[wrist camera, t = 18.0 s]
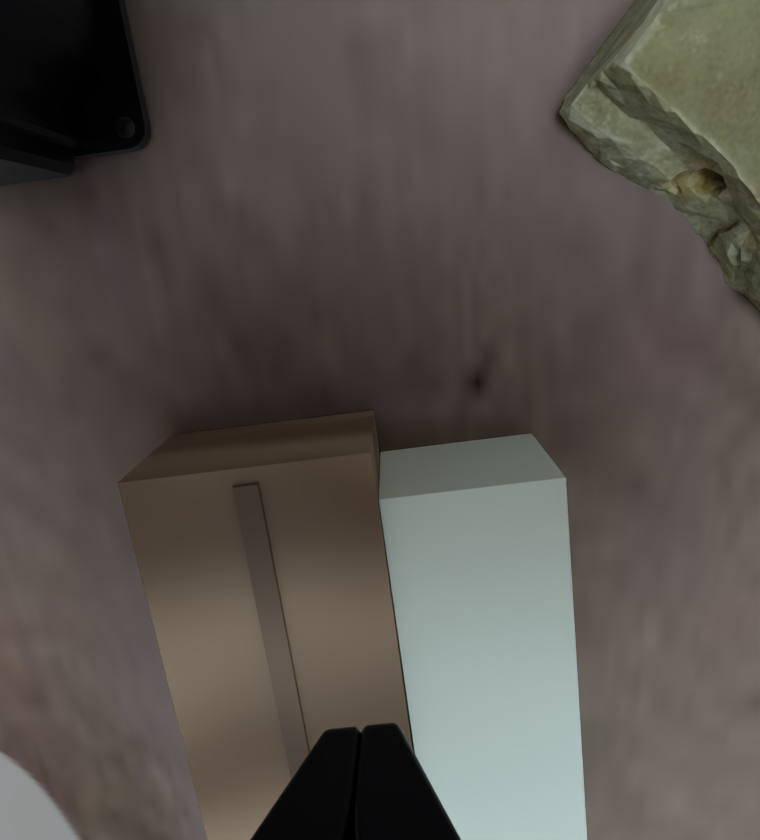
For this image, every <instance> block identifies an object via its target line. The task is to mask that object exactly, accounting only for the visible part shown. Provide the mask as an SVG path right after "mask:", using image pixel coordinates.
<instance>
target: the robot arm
mask: <svg viewBox="0 0 760 840" xmlns="http://www.w3.org/2000/svg"><path fill="white" fill-rule="evenodd" d="M127 120H132V121H133V122H134V125H135V133H134V134H133V136H132V137H130V138H125V137H124V136H123V134H122V125H123V123H124V122H125V121H127ZM149 138H150V124H149V119H148V115H147V110H146V105H145V100H144V95H143V90H142V85H141V81H140V76H139V71H138V66H137V61H136V56H135V51H134V46H133V42H132V37H131V32H130V27H129V22H128V17H127V12H126V7H125V3H124V0H0V186H1V185H8V184H15V183H22V182H29V181H37V180H44V179H51V178H58V177H65V176H70V175H71V174H72V172H73V171H74V170H75V168H76V167H77V166H76V162H75V159H82V158H89V157H96V156H104V155H111V154H118V153H125V152H132V151H137V150H140V149H142V148H143V147H144V146H145V145H146V144H147V143H148V141H149ZM250 840H461V838H460V837H459V835H458V833H457V831H456V829H455V827H454V825H453V824H452V822H451V820H450V818H449V816H448V814H447V812H446V811H445V809H444V807H443V805H442V803H441V801H440V799H439V798H438V796H437V794H436V792H435V790H434V788H433V786H432V785H431V783H430V781H429V779H428V777H427V775H426V773H425V772H424V770H423V768H422V766H421V764H420V762H419V760H418V759H417V757H416V755H415V753H414V751H413V749H412V747H411V746H410V744H409V742H408V740H407V738H406V736H405V734H404V733H403V731H402V729H401V727H400V726H399V725H398V724H397V723H394V722H392V723H382V724H372V725H366V726H365V727H364V728H363V730H362V731H361V730H360V728H358V727H356V726H352V727H343V728H333V729H328V730H326V731H325V732H323V733H322V735H321V736H320V737H319V739H318V740H317V742H316V743H315V745H314V746H313V748H312V749H311V751H310V752H309V754H308V755H307V757H306V758H305V760H304V761H303V763H302V764H301V766H300V767H299V768H298V770H297V771H296V773H295V774H294V776H293V777H292V779H291V780H290V782H289V783H288V785H287V786H286V788H285V789H284V791H283V792H282V794H281V795H280V796H279V798H278V799H277V801H276V802H275V804H274V805H273V807H272V808H271V810H270V811H269V813H268V814H267V816H266V817H265V819H264V820H263V822H262V823H261V825H260V826H259V827H258V829H257V830H256V832H255V833H254V835H253V836H252V838H251V839H250Z"/></svg>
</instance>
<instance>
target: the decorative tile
mask: <svg viewBox="0 0 760 840" xmlns="http://www.w3.org/2000/svg"><path fill="white" fill-rule="evenodd" d="M559 114H560V115H561V116H562V118H563V119H564V120H565V121H566V123H567V125H568V127H569V129H570V130H571V131H572V132H573V133H574V134H575V135H576V136H577V137H578V138H579V139H580V140H581V142H582V143H583V145H584V146H585V148H586V149H588V150H589V151H590V152H591V153H592V154H593V155H594V156H595V157H596V158H597V159H598V160H599V161H600V162H601V163H603V164H604V165H606V166H607V167H608V168H610V169H611V170H612V171H614V172H617V173H621V174H622V175H624V176H625V177H626V178H628V179H629V180H631V181H633V182H635V183H637V184H639V185H641V186H643V187H645V188H646V189H648V190H649V191H651V192H652V193H656V194H659V195H662V196H664V197H666V198H667V199H668V200H669V201H670V202H671V203H672V204H673V205H674V207H675V208H676V209H677V210H679V211H681V212H682V213H683V214H684V215H685V217H686V219H687V220H688V222H689V224H690V225H691V227H692V229H693V230H694V231H695V232H696V233H697V234H698V235H700V236H701V237H702V238H703V239H704V240H705V241H706V242H707V245H708V248H709V250H710V252H711V253H712V254H714V255H715V256H717V258H718V260H719V263H720V265H721V268H722V270H723V274H724V279H725V283H727V284H728V285H729V286H730V287H731V288H732V289H733V290H736V291H738V292H740V293H742V294H744V295H745V296H746V297H747V298H748V299H750V300H751V301H752V302H753V304H754V305H755V306H756V307H757V308H758V310H759V311H760V0H635V2H634V3H633V4H632V6H631V7H630V9H629V10H628V11H627V13H626V14H625V16H624V17H623V18H622V20H621V21H620V23H619V24H618V25H617V27H616V28H615V29H614V31H613V32H612V33H611V35H610V36H609V37H608V39H607V40H606V41H605V43H604V44H603V45H602V47H601V48H600V49H599V51H598V52H597V54H596V55H595V56H594V58H593V59H592V61H591V62H590V64H589V65H588V66H587V68H586V69H585V71H584V72H583V73H582V75H581V76H580V77H579V79H578V80H577V81H576V83H575V84H574V85H573V87H572V88H571V89H570V91H569V92H568V93H567V95H566V96H565V99H564V102H563V105H562V107H561V110H560V112H559Z"/></svg>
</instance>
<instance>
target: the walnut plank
mask: <svg viewBox="0 0 760 840" xmlns="http://www.w3.org/2000/svg"><path fill="white" fill-rule="evenodd" d="M379 481H380V453H379V446H378V438H377V431H376V423H375V416H374V410H371V411H362V412H354V413H346V414H338V415H330V416H322V417H313V418H305V419H297V420H289V421H281V422H273V423H264V424H256V425H248V426H240V427H232V428H223V429H215V430H207V431H199V432H191V433H183V434H174V435H172V436H171V437H170V438H169V439H167V440H166V441H165V442H164V443H163V444H162V445H161V446H159V447H158V448H157V449H156V450H155V451H154V452H153V453H151V454H150V455H149V456H148V457H147V458H146V459H145V460H143V461H142V462H141V463H140V464H139V465H138V466H137V467H135V468H134V469H133V470H132V471H131V472H130V473H129V474H127V475H126V476H125V477H124V478H123V479H122V480H121V481H119V482H118V486H119V490H120V494H121V498H122V502H123V506H124V510H125V514H126V518H127V522H128V526H129V530H130V534H131V538H132V542H133V545H134V549H135V553H136V557H137V561H138V565H139V569H140V573H141V577H142V581H143V585H144V589H145V593H146V597H147V601H148V605H149V609H150V613H151V617H152V621H153V625H154V629H155V633H156V637H157V641H158V645H159V649H160V653H161V657H162V661H163V665H164V669H165V673H166V677H167V681H168V685H169V689H170V693H171V697H172V701H173V705H174V708H175V712H176V716H177V720H178V724H179V728H180V732H181V736H182V740H183V744H184V748H185V752H186V756H187V760H188V764H189V768H190V772H191V776H192V780H193V784H194V788H195V792H196V796H197V800H198V804H199V808H200V812H201V816H202V820H203V824H204V828H205V832H206V836H207V840H250V839H251V838H252V836H253V835H254V833H255V832H256V830H257V829H258V827H259V826H260V825H261V823H262V822H263V820H264V819H265V817H266V816H267V814H268V813H269V811H270V810H271V808H272V807H273V805H274V804H275V802H276V801H277V799H278V798H279V796H280V795H281V794H282V792H283V791H284V789H285V788H286V786H287V785H288V783H289V782H290V780H291V779H292V777H293V776H294V774H295V773H296V771H297V770H298V768H299V767H300V766H301V764H302V763H303V761H304V760H305V758H306V757H307V755H308V754H309V752H310V751H311V749H312V748H313V746H314V745H315V743H316V742H317V740H318V739H319V737H320V736H321V735H322V733H323V732H325V731H326V730H328V729H333V728H343V727H352V726H356V727H358V728H360V730H361V731H362V730H363V728H364V727H365V726H366V725H372V724H382V723H392V722H394V723H397V724H398V725H399V726H400V727H401V729H402V731H403V733H404V734H405V736H406V738H407V740H408V742H409V744H410V746H411V747H412V749H413V751H414V744H413V737H412V730H411V723H410V715H409V708H408V701H407V694H406V687H405V680H404V673H403V666H402V659H401V652H400V645H399V638H398V631H397V624H396V617H395V610H394V603H393V596H392V589H391V582H390V575H389V568H388V561H387V554H386V546H385V539H384V532H383V525H382V518H381V511H380V504H379ZM414 753H415V751H414Z"/></svg>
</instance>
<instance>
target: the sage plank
mask: <svg viewBox="0 0 760 840" xmlns="http://www.w3.org/2000/svg"><path fill="white" fill-rule="evenodd" d="M379 504H380V511H381V518H382V525H383V532H384V539H385V546H386V554H387V561H388V568H389V575H390V582H391V589H392V596H393V603H394V610H395V617H396V624H397V631H398V638H399V645H400V652H401V659H402V666H403V673H404V680H405V687H406V694H407V701H408V708H409V715H410V723H411V730H412V737H413V744H414V751H415V755H416V757H417V759H418V760H419V762H420V764H421V766H422V768H423V770H424V772H425V773H426V775H427V777H428V779H429V781H430V783H431V785H432V786H433V788H434V790H435V792H436V794H437V796H438V798H439V799H440V801H441V803H442V805H443V807H444V809H445V811H446V812H447V814H448V816H449V818H450V820H451V822H452V824H453V825H454V827H455V829H456V831H457V833H458V835H459V837H460V838H461V840H587V830H586V813H585V796H584V779H583V762H582V745H581V728H580V711H579V694H578V676H577V659H576V642H575V625H574V608H573V591H572V574H571V557H570V540H569V523H568V506H567V488H566V477H565V476H564V475H563V473H562V472H561V471H560V469H559V468H558V467H557V466H556V464H555V463H554V462H553V460H552V459H551V458H550V457H549V455H548V454H547V453H546V451H545V450H544V449H543V448H542V446H541V445H540V444H539V442H538V441H537V440H536V438H535V437H534V436H533V435H532V433H530V434H522V435H514V436H506V437H497V438H489V439H481V440H473V441H465V442H457V443H449V444H441V445H432V446H424V447H416V448H408V449H400V450H392V451H384V452H380V481H379Z"/></svg>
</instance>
